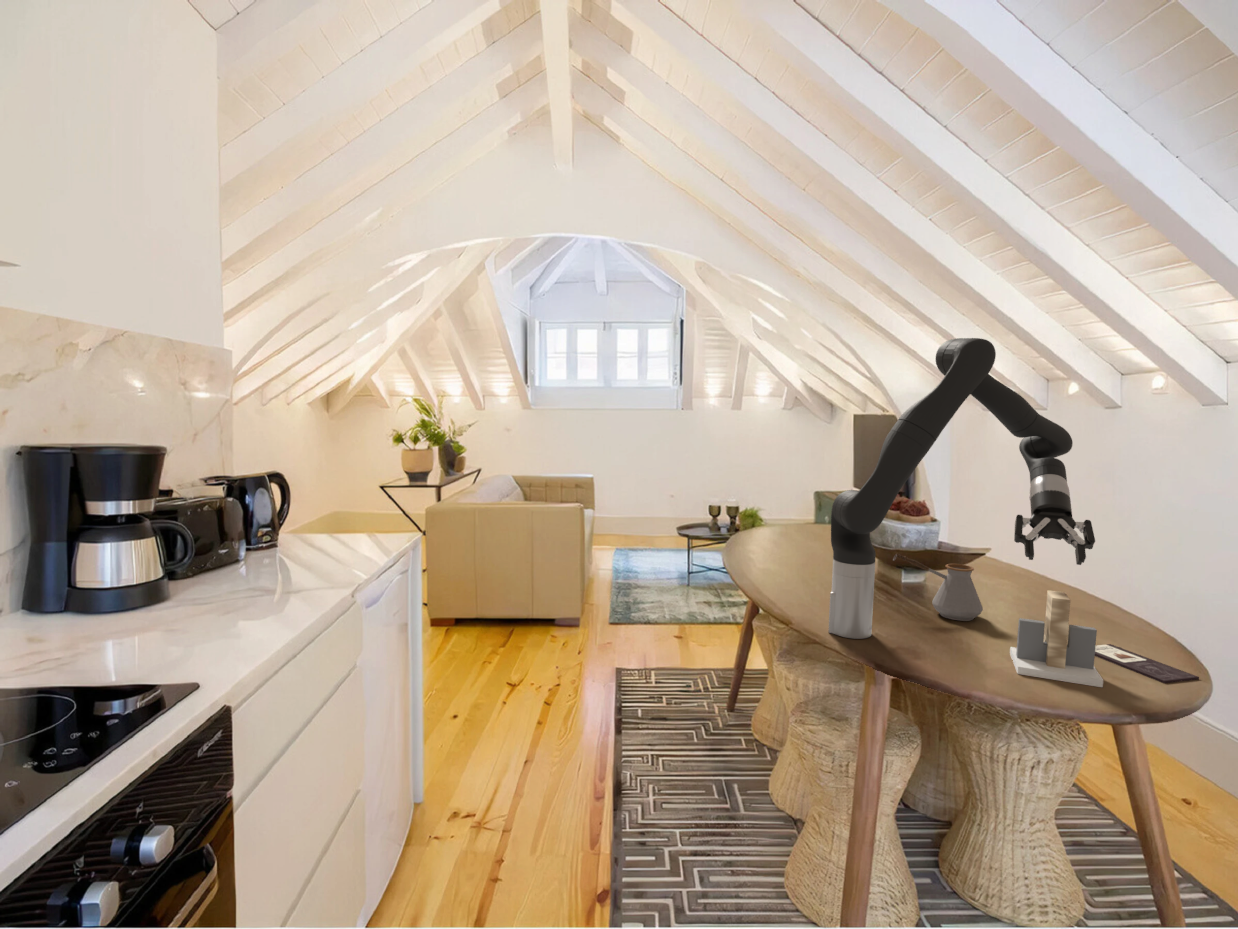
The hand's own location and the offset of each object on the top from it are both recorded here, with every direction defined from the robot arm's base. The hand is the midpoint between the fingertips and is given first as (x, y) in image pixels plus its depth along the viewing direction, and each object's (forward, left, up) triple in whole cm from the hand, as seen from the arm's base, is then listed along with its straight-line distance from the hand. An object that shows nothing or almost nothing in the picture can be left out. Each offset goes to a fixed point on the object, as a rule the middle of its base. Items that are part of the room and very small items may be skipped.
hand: (1055, 560), depth 136 cm
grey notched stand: (0, -7, -21) cm, 22 cm away
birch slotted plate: (0, -7, -20) cm, 21 cm away
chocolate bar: (+16, +5, -22) cm, 28 cm away
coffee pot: (-21, +22, -21) cm, 37 cm away
